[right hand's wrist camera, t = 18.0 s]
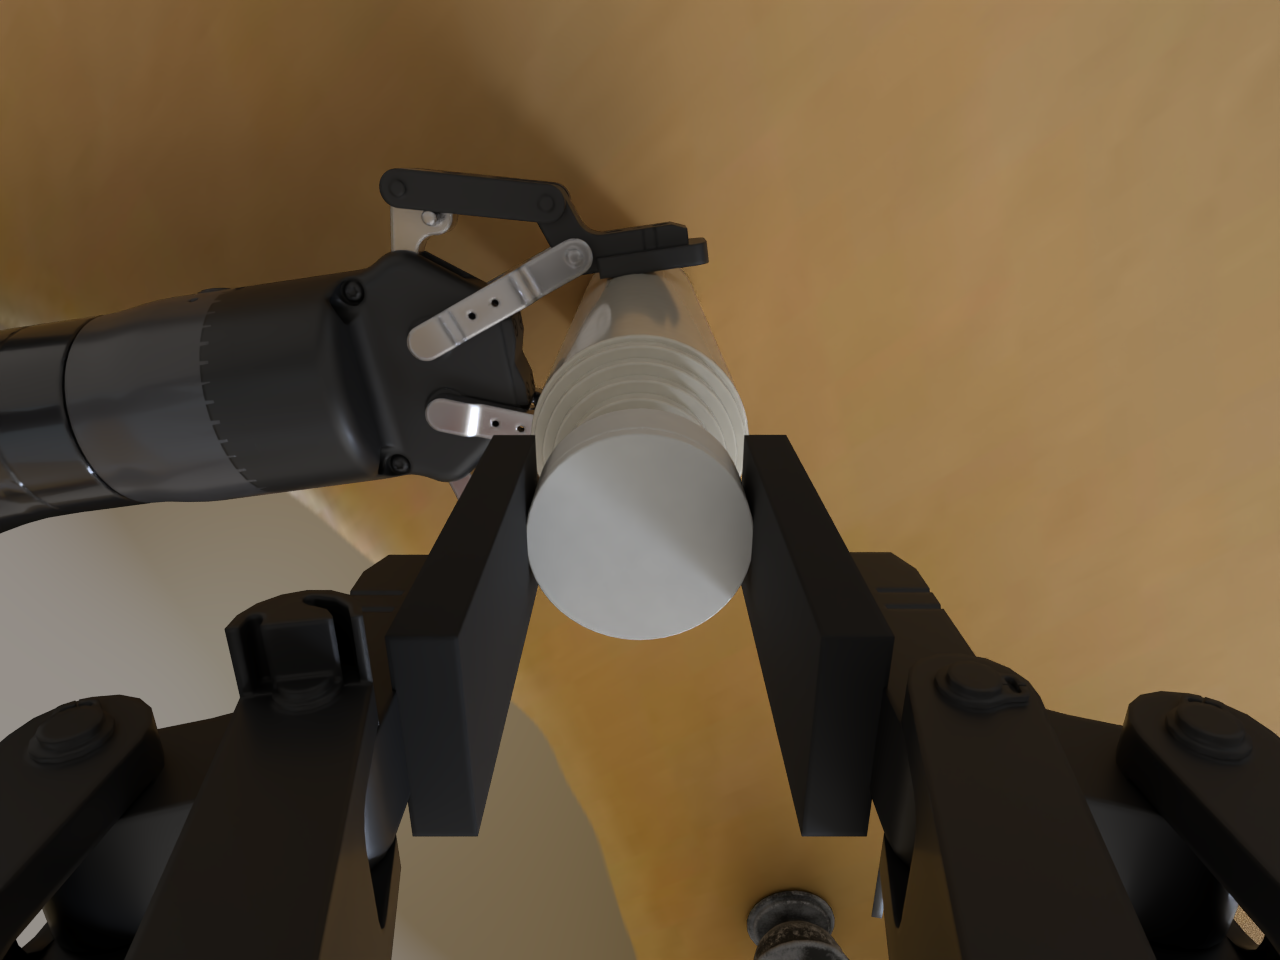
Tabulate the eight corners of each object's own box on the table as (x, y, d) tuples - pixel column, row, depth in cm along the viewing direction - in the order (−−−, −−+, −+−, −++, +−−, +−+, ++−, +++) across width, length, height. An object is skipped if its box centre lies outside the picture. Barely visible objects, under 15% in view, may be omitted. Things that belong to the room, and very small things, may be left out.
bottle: (575, 355, 35) (483, 624, 14) (592, 241, 33) (516, 364, 13) (684, 374, 35) (745, 665, 15) (707, 262, 33) (813, 416, 13)
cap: (644, 362, 14) (645, 385, 12) (786, 510, 15) (801, 547, 13) (492, 502, 14) (477, 538, 13) (635, 632, 16) (634, 678, 14)
